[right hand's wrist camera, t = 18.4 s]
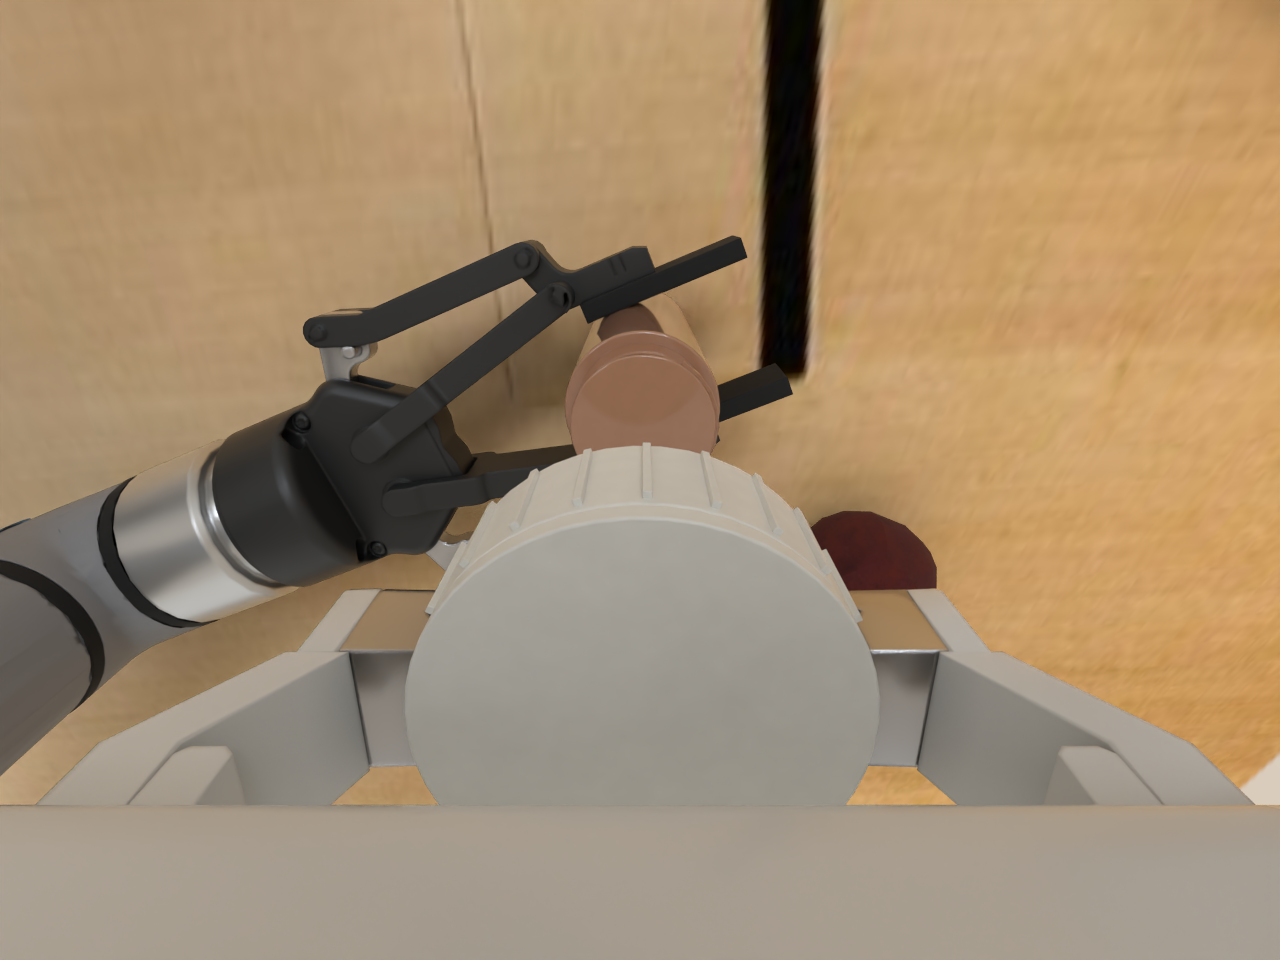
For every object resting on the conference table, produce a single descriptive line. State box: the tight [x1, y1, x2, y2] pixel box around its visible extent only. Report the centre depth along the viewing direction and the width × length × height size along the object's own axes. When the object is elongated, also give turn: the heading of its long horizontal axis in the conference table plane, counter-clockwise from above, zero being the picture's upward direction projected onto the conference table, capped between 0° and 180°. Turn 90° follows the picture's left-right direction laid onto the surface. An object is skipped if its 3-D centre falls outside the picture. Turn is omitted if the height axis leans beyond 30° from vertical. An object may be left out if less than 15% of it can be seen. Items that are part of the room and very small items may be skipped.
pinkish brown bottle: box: [565, 293, 720, 455], centre depth 27 cm, size 5×5×16 cm
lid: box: [404, 442, 880, 805], centre depth 9 cm, size 6×6×2 cm
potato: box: [811, 511, 937, 591], centre depth 35 cm, size 7×8×7 cm
